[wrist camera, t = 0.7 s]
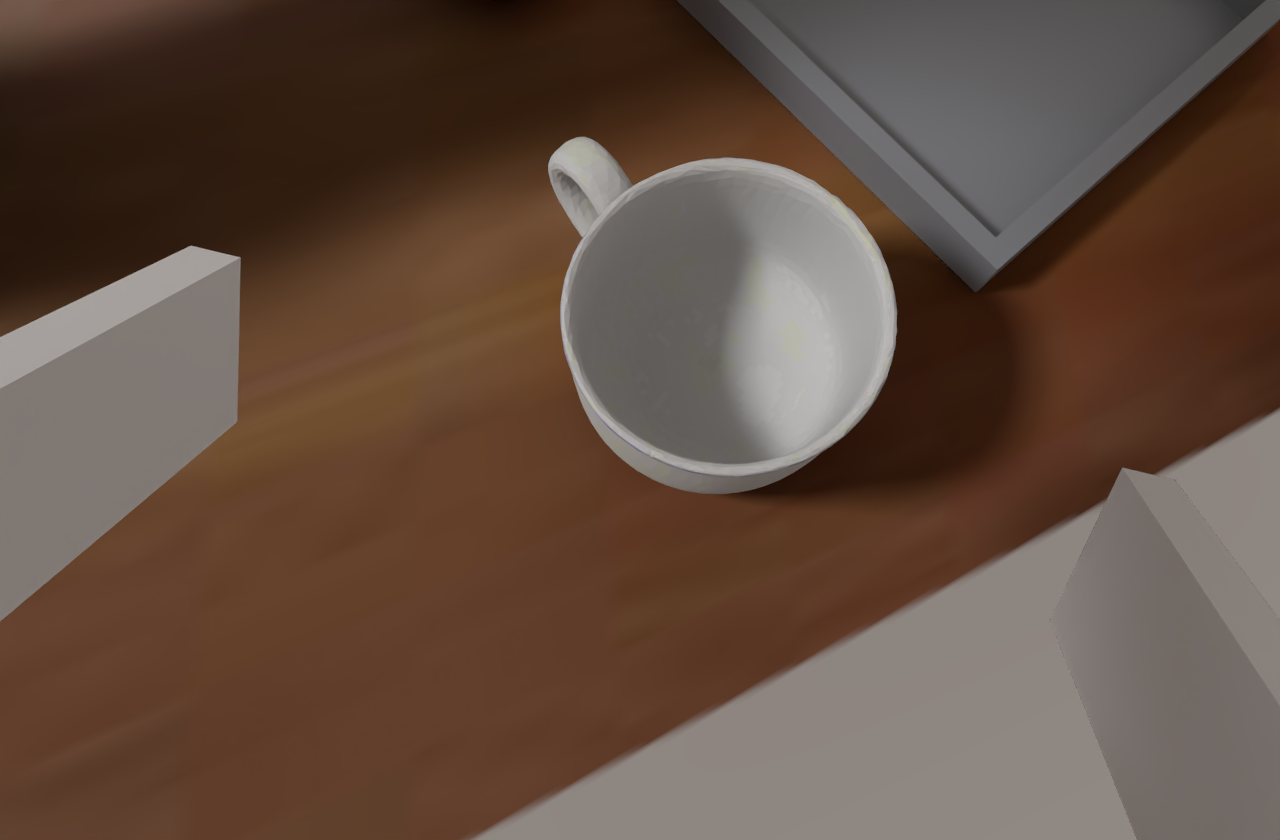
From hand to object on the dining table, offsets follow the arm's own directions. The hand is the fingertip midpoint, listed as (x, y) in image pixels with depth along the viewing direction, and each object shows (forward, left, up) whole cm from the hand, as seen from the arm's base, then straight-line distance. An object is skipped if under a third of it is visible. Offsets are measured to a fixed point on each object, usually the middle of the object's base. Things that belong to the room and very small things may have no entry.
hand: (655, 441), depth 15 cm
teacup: (-6, +9, -23) cm, 25 cm away
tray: (-10, +30, -23) cm, 38 cm away
